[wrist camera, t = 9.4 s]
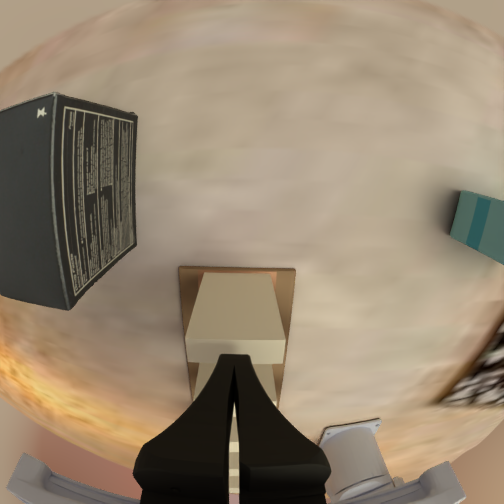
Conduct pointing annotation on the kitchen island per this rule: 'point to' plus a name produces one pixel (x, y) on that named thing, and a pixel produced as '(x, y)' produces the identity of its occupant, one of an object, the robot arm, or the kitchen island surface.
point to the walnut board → (280, 276)
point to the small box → (64, 197)
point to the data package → (480, 224)
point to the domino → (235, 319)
